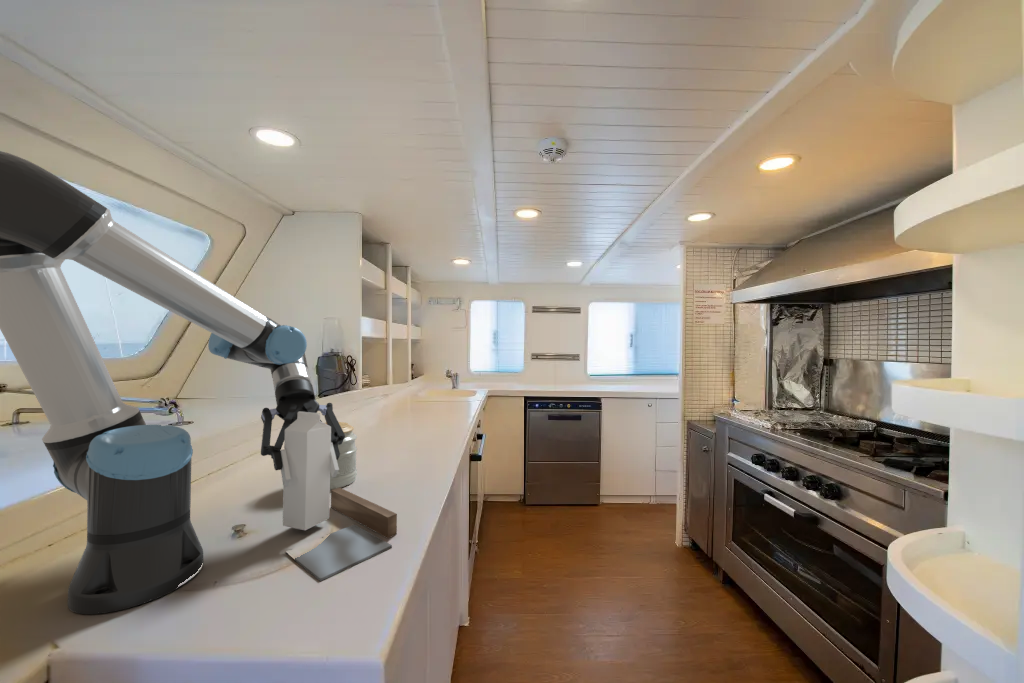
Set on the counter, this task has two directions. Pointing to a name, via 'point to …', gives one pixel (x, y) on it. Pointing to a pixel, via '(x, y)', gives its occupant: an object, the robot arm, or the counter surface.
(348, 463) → the jar
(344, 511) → the guide jig
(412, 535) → the counter surface
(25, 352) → the robot arm
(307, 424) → the milk
